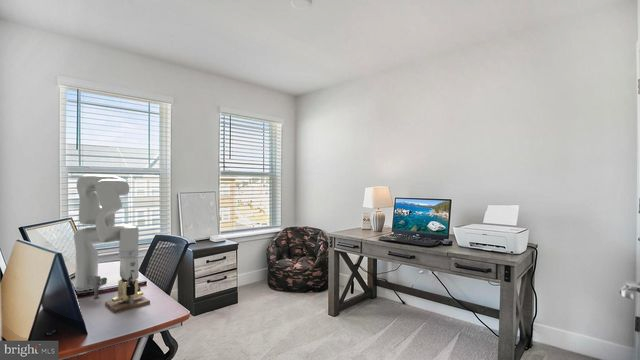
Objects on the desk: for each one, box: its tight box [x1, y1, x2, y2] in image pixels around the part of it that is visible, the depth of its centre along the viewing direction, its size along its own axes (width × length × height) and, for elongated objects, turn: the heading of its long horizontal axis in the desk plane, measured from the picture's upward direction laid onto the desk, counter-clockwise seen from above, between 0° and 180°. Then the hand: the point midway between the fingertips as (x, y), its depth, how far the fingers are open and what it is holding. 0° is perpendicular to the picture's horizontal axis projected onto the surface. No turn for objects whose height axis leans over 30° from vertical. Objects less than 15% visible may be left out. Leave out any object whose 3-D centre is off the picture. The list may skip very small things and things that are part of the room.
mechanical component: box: [86, 275, 108, 299], centre depth 151 cm, size 3×10×10 cm, turn 79°
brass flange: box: [111, 278, 144, 302], centre depth 143 cm, size 12×6×8 cm, turn 140°
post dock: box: [104, 295, 151, 314], centre depth 143 cm, size 13×14×8 cm
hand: (128, 292), depth 143 cm, fingers closed on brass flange, 5 cm apart
